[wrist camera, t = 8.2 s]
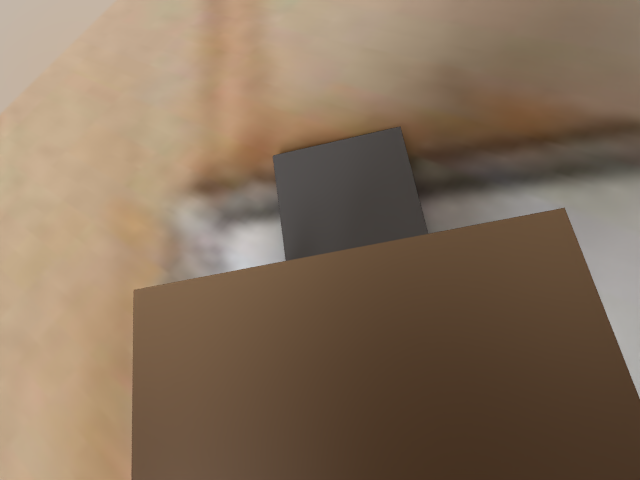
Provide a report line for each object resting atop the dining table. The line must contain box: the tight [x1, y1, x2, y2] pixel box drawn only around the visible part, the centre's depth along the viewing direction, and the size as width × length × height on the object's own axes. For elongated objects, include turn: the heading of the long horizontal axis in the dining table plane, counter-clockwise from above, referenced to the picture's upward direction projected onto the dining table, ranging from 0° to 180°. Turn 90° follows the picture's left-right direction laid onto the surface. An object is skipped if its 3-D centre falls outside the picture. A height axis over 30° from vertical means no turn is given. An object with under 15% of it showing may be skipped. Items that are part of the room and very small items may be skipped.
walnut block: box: [132, 208, 640, 480], centre depth 9 cm, size 5×5×13 cm
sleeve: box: [273, 127, 428, 261], centre depth 15 cm, size 16×9×4 cm, turn 9°
